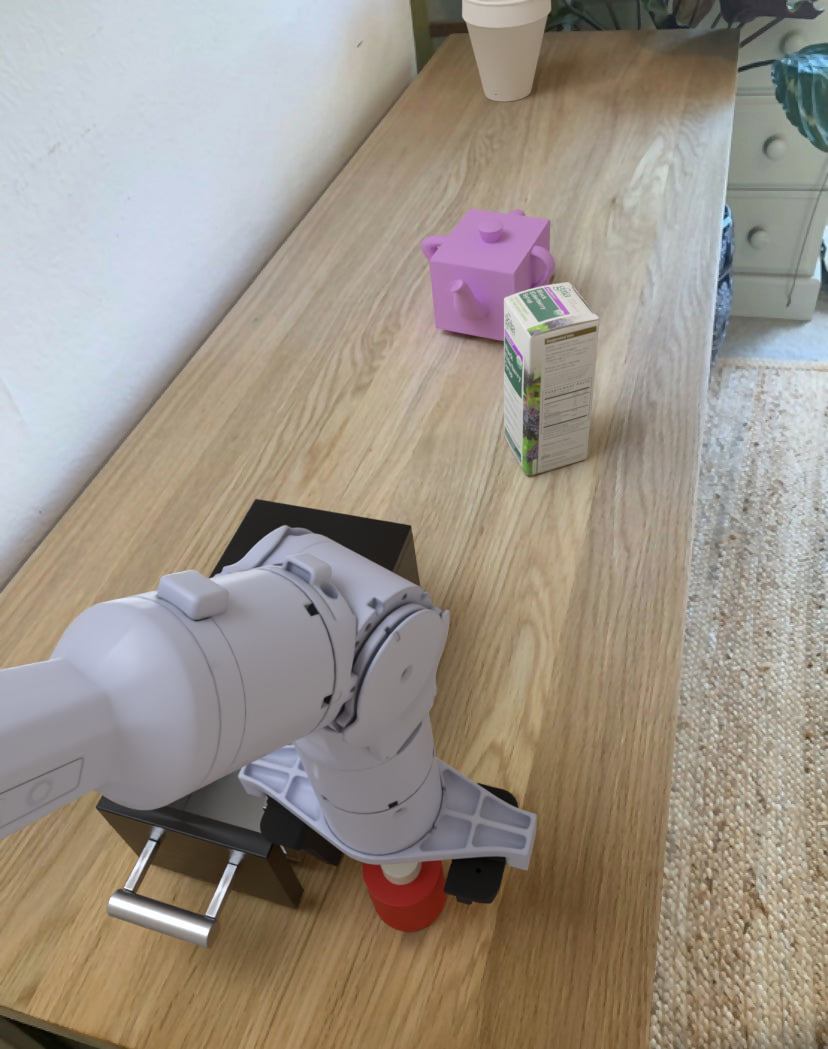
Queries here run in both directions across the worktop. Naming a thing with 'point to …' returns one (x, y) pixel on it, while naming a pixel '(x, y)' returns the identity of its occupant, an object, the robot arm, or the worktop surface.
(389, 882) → the bottle
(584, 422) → the syrup box
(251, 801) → the drawer
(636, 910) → the worktop surface
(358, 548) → the cabinet
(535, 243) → the teapot
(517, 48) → the cup
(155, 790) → the robot arm
